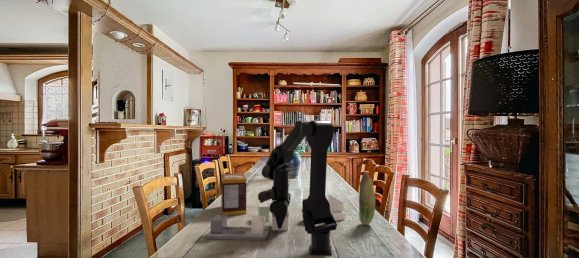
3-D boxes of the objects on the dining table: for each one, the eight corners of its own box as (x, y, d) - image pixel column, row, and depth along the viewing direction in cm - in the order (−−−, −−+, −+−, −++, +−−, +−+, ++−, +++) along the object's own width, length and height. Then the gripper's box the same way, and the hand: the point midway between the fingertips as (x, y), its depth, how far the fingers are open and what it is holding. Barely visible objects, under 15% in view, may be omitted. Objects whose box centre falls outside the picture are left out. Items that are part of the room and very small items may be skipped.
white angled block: (318, 213, 120) (328, 194, 121) (337, 223, 123) (347, 204, 124) (321, 215, 117) (332, 196, 118) (341, 226, 119) (351, 207, 120)
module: (288, 230, 107) (288, 211, 107) (271, 230, 107) (271, 211, 107) (289, 226, 111) (289, 208, 111) (273, 226, 111) (273, 208, 111)
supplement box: (242, 205, 142) (243, 173, 142) (246, 214, 127) (246, 178, 127) (221, 206, 140) (221, 173, 140) (222, 215, 125) (222, 179, 125)
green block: (269, 221, 117) (269, 206, 117) (259, 221, 117) (259, 207, 117) (267, 217, 122) (267, 203, 122) (258, 218, 121) (258, 203, 121)
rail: (265, 240, 97) (265, 222, 97) (206, 238, 98) (206, 221, 98) (268, 231, 105) (268, 215, 105) (214, 230, 106) (214, 214, 106)
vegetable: (375, 223, 115) (375, 172, 115) (375, 228, 109) (375, 175, 109) (359, 222, 117) (359, 172, 117) (358, 227, 111) (358, 174, 111)
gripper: (263, 178, 119) (263, 216, 119) (254, 187, 100) (254, 232, 100) (290, 178, 118) (290, 216, 118) (287, 187, 99) (287, 233, 99)
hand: (280, 224), depth 109 cm, fingers open, 9 cm apart
